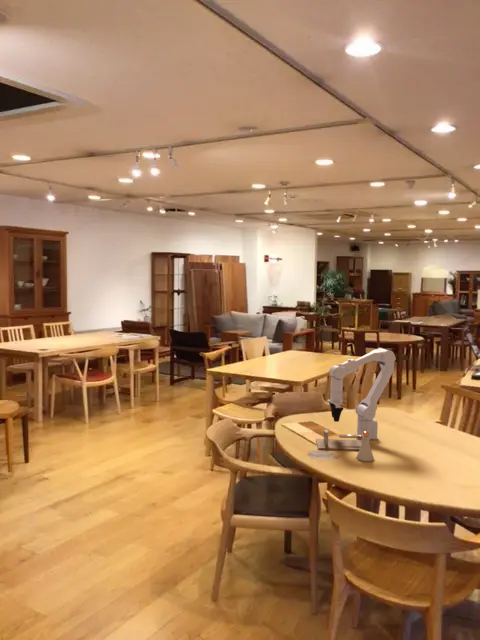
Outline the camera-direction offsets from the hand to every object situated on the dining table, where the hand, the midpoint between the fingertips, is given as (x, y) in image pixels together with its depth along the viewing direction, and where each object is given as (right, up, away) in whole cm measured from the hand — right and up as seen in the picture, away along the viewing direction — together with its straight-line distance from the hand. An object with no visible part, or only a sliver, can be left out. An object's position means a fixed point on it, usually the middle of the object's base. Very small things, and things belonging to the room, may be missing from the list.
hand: (335, 419), depth 275 cm
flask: (+8, -12, -28) cm, 32 cm away
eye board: (+1, -10, -10) cm, 14 cm away
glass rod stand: (+6, -9, -10) cm, 15 cm away
